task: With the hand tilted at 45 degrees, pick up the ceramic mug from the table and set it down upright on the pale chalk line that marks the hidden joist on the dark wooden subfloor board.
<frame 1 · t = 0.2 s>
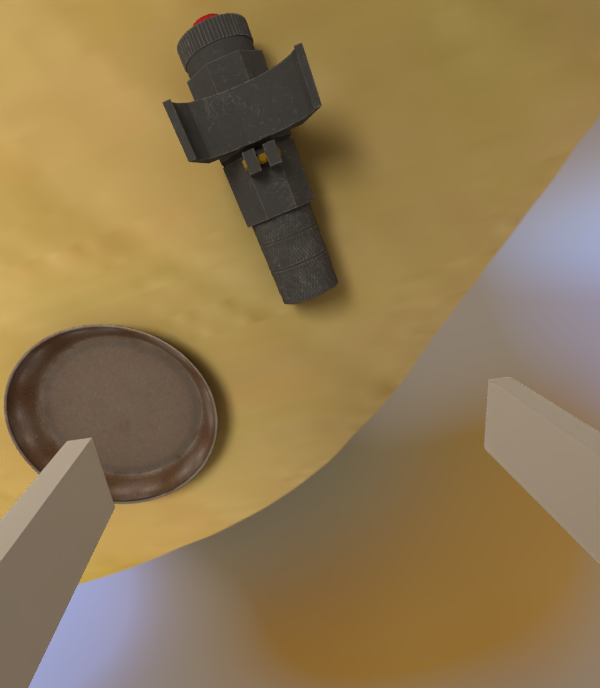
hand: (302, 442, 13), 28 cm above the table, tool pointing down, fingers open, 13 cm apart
plant saucer: (125, 406, 42), on the table
laser sight: (263, 176, 36), on the table
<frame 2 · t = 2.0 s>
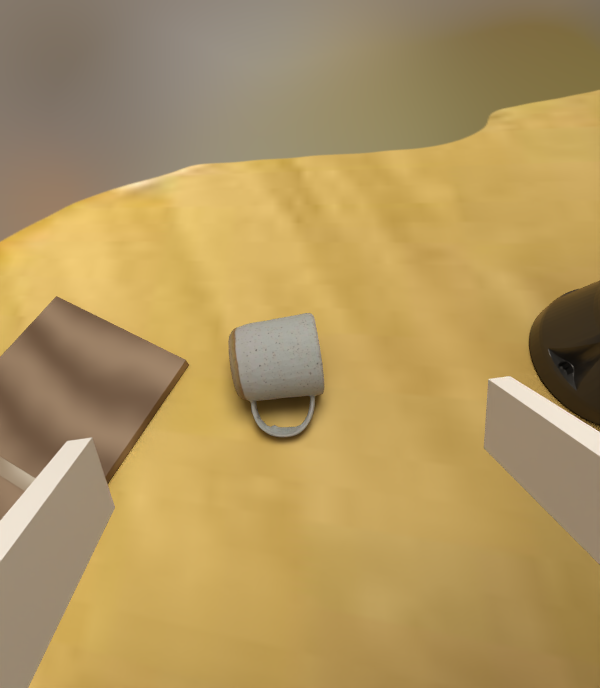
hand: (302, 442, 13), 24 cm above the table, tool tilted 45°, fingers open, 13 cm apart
ceramic mug: (283, 385, 39), on the table
subfloor board: (44, 431, 36), on the table
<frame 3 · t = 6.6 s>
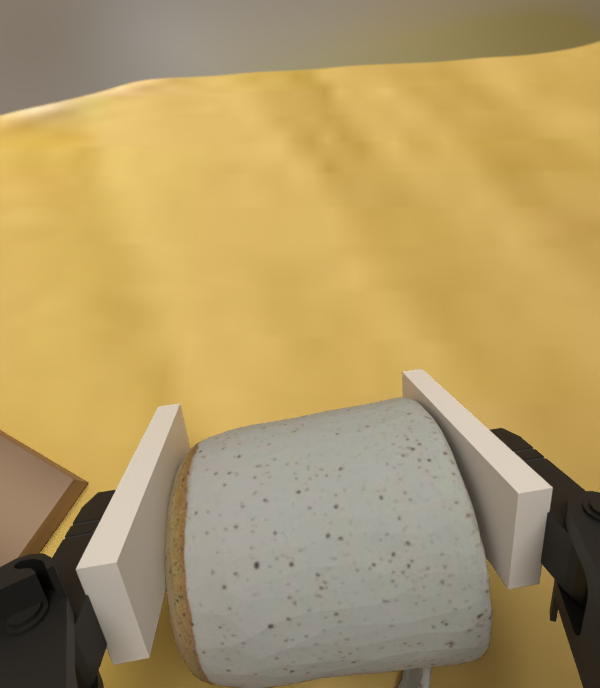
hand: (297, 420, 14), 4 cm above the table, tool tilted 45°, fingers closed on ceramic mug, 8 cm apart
ceramic mug: (326, 565, 15), on the table, touching gripper
when the fingers open (6 cm above the table, at t = 12.6 s): ceramic mug stays where it is, resting on subfloor board.
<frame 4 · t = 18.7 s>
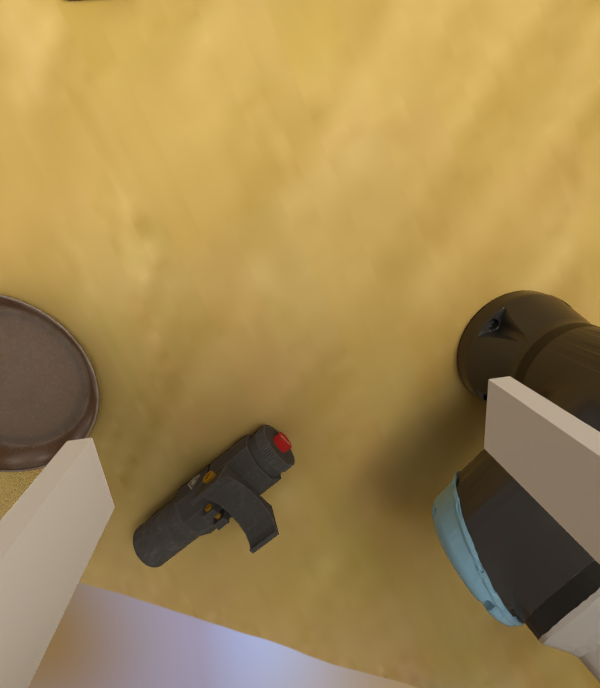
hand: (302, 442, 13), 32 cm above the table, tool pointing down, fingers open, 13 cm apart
plant saucer: (13, 376, 43), on the table
laser sight: (218, 477, 50), on the table
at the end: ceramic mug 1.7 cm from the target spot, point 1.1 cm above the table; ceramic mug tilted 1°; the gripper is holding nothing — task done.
